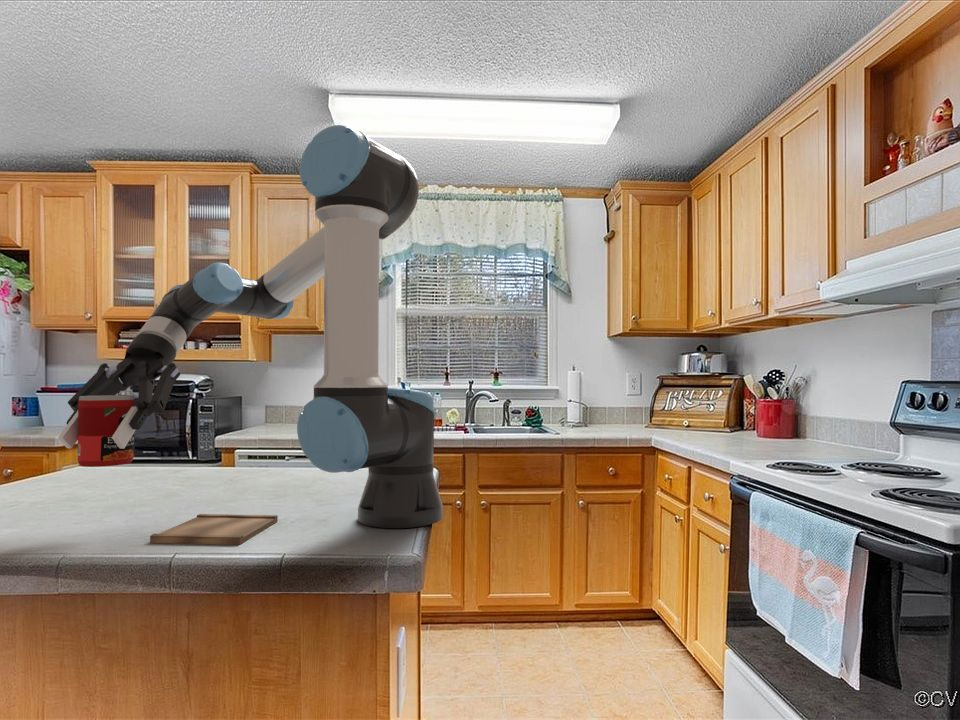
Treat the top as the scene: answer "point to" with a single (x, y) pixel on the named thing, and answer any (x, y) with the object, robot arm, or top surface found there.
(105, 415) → the canned food
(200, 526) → the trivet
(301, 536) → the top surface
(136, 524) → the top surface
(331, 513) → the top surface
